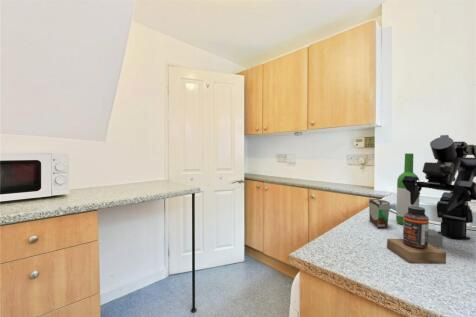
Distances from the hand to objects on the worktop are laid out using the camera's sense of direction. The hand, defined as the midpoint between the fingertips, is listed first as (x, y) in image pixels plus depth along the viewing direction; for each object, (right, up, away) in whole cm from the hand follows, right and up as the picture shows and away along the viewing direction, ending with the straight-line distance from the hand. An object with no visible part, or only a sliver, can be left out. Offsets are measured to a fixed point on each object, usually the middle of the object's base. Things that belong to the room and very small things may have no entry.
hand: (428, 207), depth 73 cm
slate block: (+4, -14, +6) cm, 16 cm away
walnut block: (-7, -14, -3) cm, 16 cm away
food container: (0, -13, +24) cm, 28 cm away
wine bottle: (+12, -13, +26) cm, 32 cm away
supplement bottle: (-7, -11, -4) cm, 13 cm away
